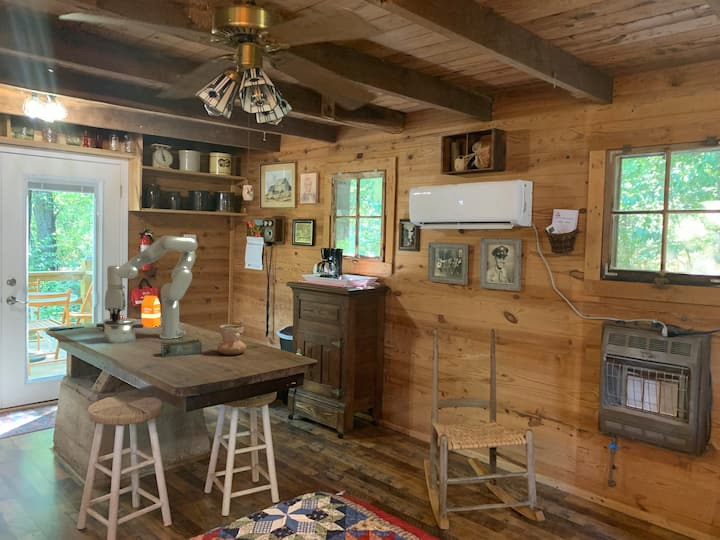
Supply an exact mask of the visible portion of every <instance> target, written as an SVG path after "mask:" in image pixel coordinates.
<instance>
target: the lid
mask: <svg viewBox="0 0 720 540" xmlns="http://www.w3.org/2000/svg"><path fill="white" fill-rule="evenodd" d="M134 322H135V323H136V322H137V319H136V318H134V317H133V318H132V317H129V318H128V317H124V315H122V314H120V315H118V321H112V319H110V318H107V319H103V323H105V324H125V323H134ZM103 323H102V324H103Z"/></svg>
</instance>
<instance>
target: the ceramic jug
mask: <svg viewBox="0 0 720 540" xmlns="http://www.w3.org/2000/svg"><path fill="white" fill-rule="evenodd" d="M244 331H245V326H244V325H238V324H222V325H220V326H219V332H220V335H221V338H222V339H221V340H222V342H220V343H219V344H218V345H217V347H216V348H217V352H218V353H219V354H222V355H226V356H233V355H234V356H235V355H240V354H242V353H244V352H246V349H247V345H246V344H245V343H244V342H242V341H241V338H242V336H243V333H244Z"/></svg>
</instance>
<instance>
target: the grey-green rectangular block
mask: <svg viewBox="0 0 720 540" xmlns="http://www.w3.org/2000/svg"><path fill="white" fill-rule="evenodd" d="M160 346H161V347H160V354H162V357H163V358H168V357H179V355H181V356H189V355H188V354H191V355H198V354H197V353H200V354H202V349H203V348H202V346H203V345H202V341H200V340H199V339H190V340H184V341H183V340H182V341H175V342H174V341H173V342H162V343H160Z"/></svg>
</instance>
